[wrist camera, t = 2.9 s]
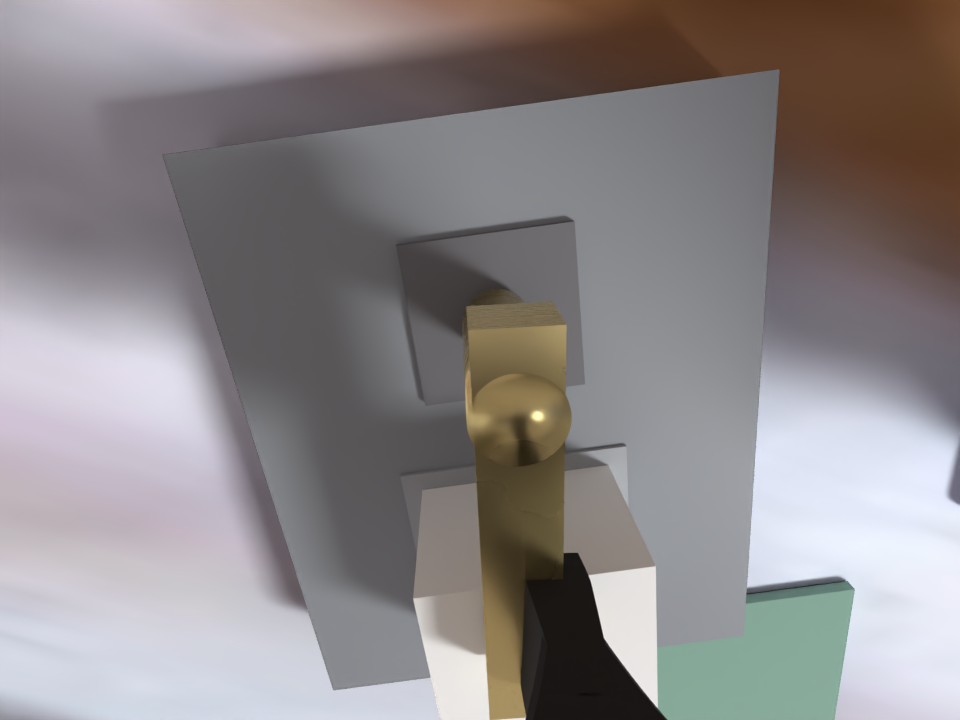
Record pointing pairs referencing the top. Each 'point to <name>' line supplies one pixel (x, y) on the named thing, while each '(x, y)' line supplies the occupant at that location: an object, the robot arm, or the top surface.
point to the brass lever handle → (515, 467)
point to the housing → (439, 341)
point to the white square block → (458, 586)
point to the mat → (764, 661)
